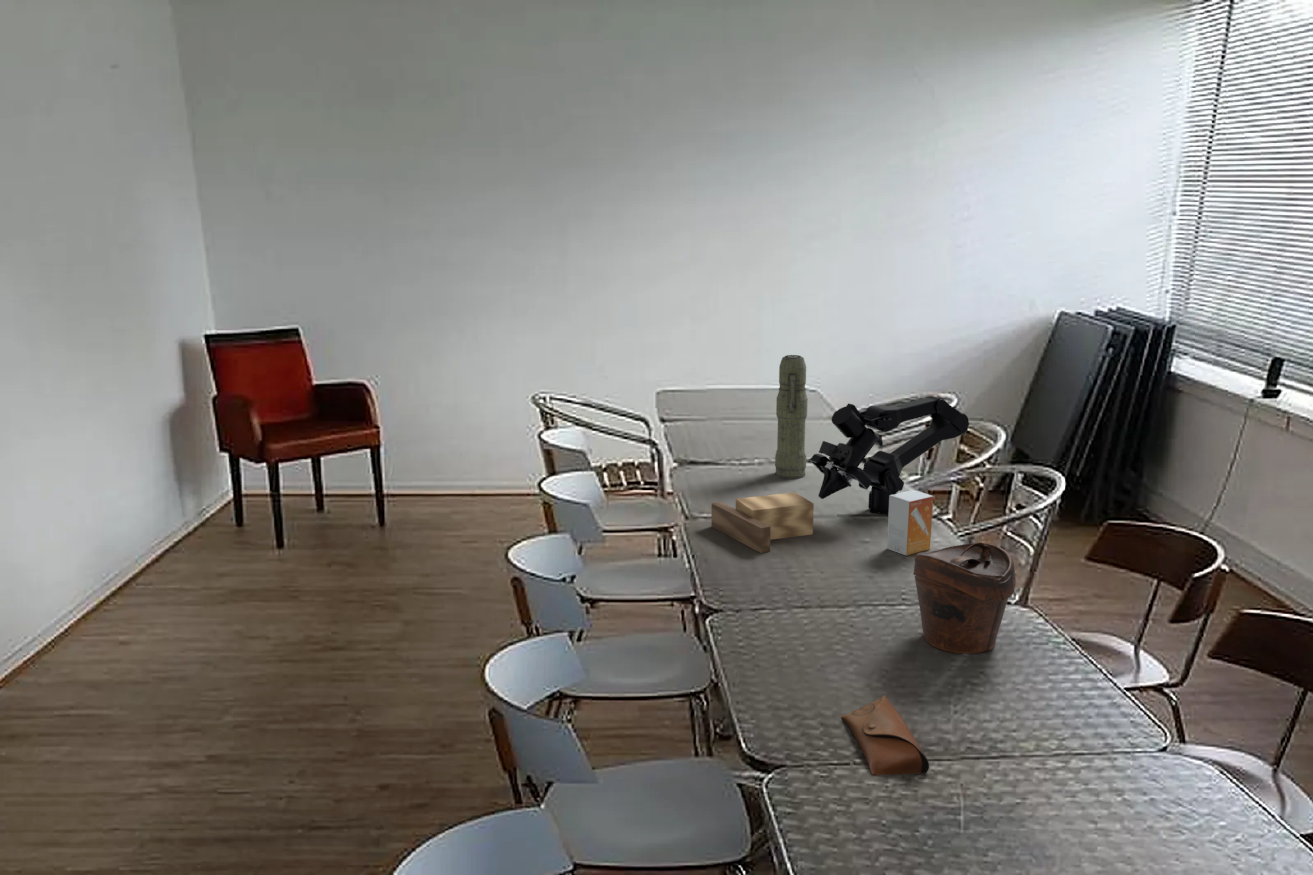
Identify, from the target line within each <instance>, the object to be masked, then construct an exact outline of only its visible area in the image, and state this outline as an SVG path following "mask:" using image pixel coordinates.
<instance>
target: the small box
mask: <svg viewBox="0 0 1313 875" xmlns="http://www.w3.org/2000/svg"><path fill="white" fill-rule="evenodd" d="M933 507H934V496H933V495H931V494H927V493H925V492H922V491H919V490H916V489H911V490H908V491H900V492H897V494H894V495H890V496H889V513H888V514H887V515H888V516H887V517H888V520H887V535H886V536H887V538H886V549H887V550H890V551H893V552H895V553H898V554H900V555H903V556H906V557H907V556H909V555H913V554H918V553H922V552H925V551H929V550H931V541H932V540H931V538H932V524H933V523H932V522H933Z"/></svg>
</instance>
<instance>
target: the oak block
mask: <svg viewBox="0 0 1313 875" xmlns="http://www.w3.org/2000/svg"><path fill="white" fill-rule="evenodd" d="M814 506H815V504H814V502H812V501H811V500H808V499H807V498H806V497H803V496H802V495H800V494H799V493H797V492H795V491H794V492H786V493H785V492H783V493H776V494H769V495H768V494H767V495H760V496H751V497H748V496H747V497H740V498H735V509H736V510H738V511H740V512H742V513H744V514H746V515H748V516H750V517H752V518H754V519H756V520H758V521H760V522H762V523H764V524H766V525H768V526H770V527H771V528H770V541H771V540H777V539H785V538H792V537H802V536H809V535H813V534H814V510H815V508H814Z"/></svg>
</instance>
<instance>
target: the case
mask: <svg viewBox="0 0 1313 875" xmlns="http://www.w3.org/2000/svg"><path fill="white" fill-rule="evenodd" d="M913 569H914V570H913V575H914V581H915V587H916V592H917V594H916V595H917V598H918V599H917V600H918V607H919V612H920V619H921V620H920V622H921V627H922V634H923V637H924V640H925V641H926V642H927V643H928V644H929V645H930V646H933V647H934V648H937V649H939V650H941V651H945V652H950V653H954V654H965V655H966V654H969V655H971V654H978V653H979V654H980V653H983V652H989V651H991V650H992V649H994V646H996V641H997V638H998V633H999V630H1000V628H1001V625H1002V620H1003V617H1004V614H1005V611H1006V607H1007V604H1008V600H1009V598H1011V597H1012V595H1013V594H1014V593H1015V589H1016V583H1017V581H1016V572H1015V562H1014V560H1013V557H1012V556H1011V555H1010V553H1009V552H1008V551H1006V550H1005V549H1003V548H1002V547H1000V546H998V545H996V544H991V543H988V542H975V543H974V542H973V543H972V542H971V543H964V544H958V545H952V546H948V547H944V548H940V549H934V550H931V551H926V552H925V551H921V552H917V553H915V555H914V567H913Z"/></svg>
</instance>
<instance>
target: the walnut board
mask: <svg viewBox="0 0 1313 875" xmlns="http://www.w3.org/2000/svg"><path fill="white" fill-rule="evenodd" d="M710 522H711V524H710V525H711V527H712V528H713V529H716V530H717V531H719V532H721V533H722V534H725V535H726V536H728V537H730V538H732V539H734V540H735V541H738V542H739V543H741V544H743V545H745V546H747V547H749V548H751V549H752V550H754V551H755V552H758V553H760V554H763V553H769V552H771V540H770V528H771V527H770V526H768V525H766V524H764V523H762V522H760V521H758V520H756V519H754V518H752V517H750V516H748V515H746V514H744V513H742V512H740V511H738V510H736V508H734V507H731V506H729V505H728V504H725V503H723V502H722V501H717V502H712V503H711V521H710Z"/></svg>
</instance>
